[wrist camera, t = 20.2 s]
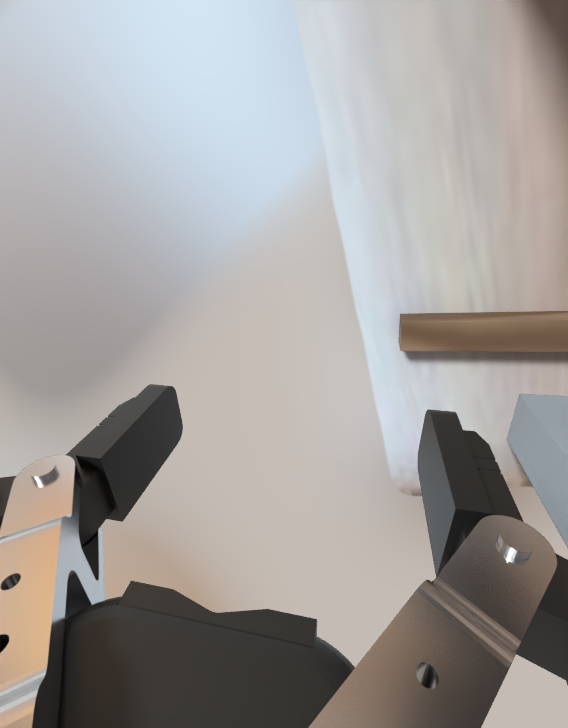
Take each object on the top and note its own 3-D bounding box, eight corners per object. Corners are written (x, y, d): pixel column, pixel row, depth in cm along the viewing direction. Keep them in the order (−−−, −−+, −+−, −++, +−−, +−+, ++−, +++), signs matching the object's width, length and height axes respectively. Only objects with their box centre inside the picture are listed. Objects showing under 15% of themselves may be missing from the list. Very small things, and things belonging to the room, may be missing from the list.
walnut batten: (399, 312, 37) (402, 322, 34) (655, 308, 32) (681, 319, 29) (398, 339, 38) (400, 351, 36) (643, 339, 33) (667, 352, 31)
